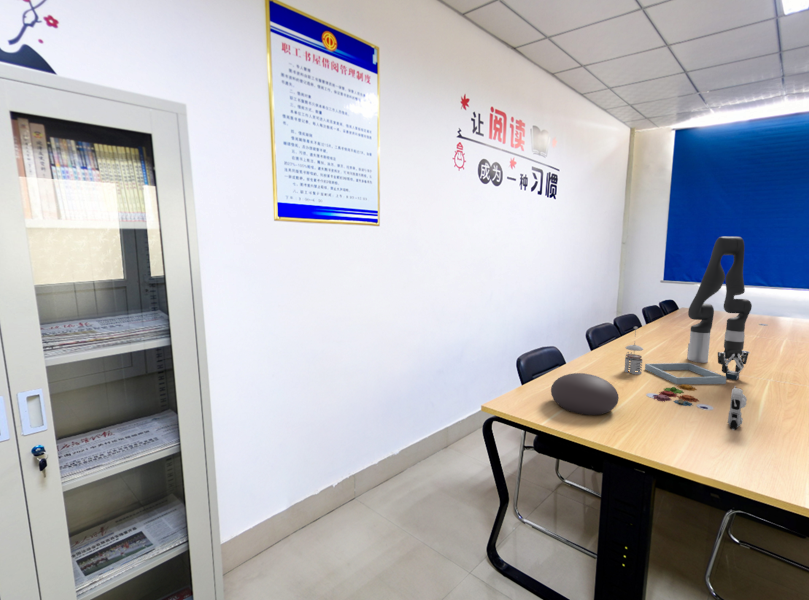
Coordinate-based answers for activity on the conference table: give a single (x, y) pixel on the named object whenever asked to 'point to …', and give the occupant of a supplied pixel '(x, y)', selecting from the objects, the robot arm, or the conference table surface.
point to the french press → (633, 359)
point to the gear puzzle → (672, 392)
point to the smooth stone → (584, 394)
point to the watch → (734, 374)
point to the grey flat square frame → (708, 379)
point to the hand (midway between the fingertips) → (731, 372)
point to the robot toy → (736, 408)
